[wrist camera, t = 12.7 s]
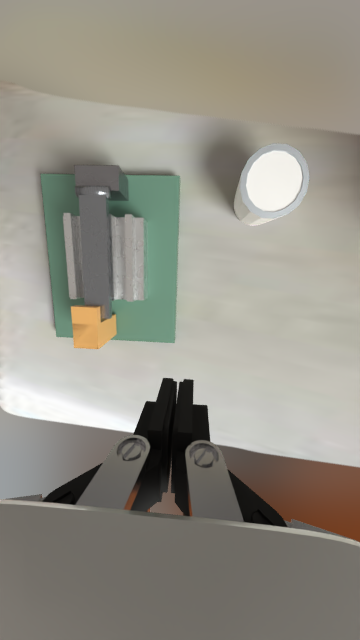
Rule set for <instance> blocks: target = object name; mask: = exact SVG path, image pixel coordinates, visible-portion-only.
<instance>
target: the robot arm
mask: <svg viewBox="0 0 360 640" xmlns="http://www.w3.org/2000/svg"><path fill="white" fill-rule="evenodd" d="M176 398H177V404H176ZM171 461H172V475H171V493H175V503H176V504H177V506H178V507H179V508H180V510H181V511H182V512H183V516H181V515H171V514H161V513H152V512H150V508H151V507H152V506H153V505H154V504H155V503H157V502H161V499H162V493H163V492H166V493H167V491H168V484H169V476H170V468H171ZM0 640H360V542H358V541H355V540H352V539H350V538H347V537H344V536H341V535H338V534H335V533H332V532H329V531H326V530H323V529H320V528H317V527H313V526H311V525H308V524H305V523H302V522H299V521H296V520H293V519H292V520H291V523H290V522H287V521H284V520H283V518H282V517H281V516H280V515H279V514H278V513H277V512H276V511H275V510H274V509H273V508H272V507H271V506H270V505H269V504H267V503H266V502H265V501H264V500H263V499H261V498H260V497H259V496H258V495H257V494H256V493H255V492H253V491H252V490H251V489H250V488H249V487H248V486H246V485H245V484H244V483H243V482H242V481H241V480H239V479H238V478H237V477H236V476H235V475H234V474H232V473H231V472H230V471H229V470H228V469H227V467H226V464H225V461H224V457H223V454H222V452H221V450H220V449H219V448H218V447H217V446H216V445H215V444H213V443H212V442H210V434H209V421H208V409H207V405H194V404H193V380H188V379H184V381H183V382H180V383H179V390H178V397H177V381H173V379H171V378H163V381H162V384H161V387H160V390H159V394H158V397H157V400H156V402H150V401H147V402H146V403H145V405H144V408H143V411H142V413H141V416H140V419H139V421H138V424H137V427H136V429H135V432H134V434H133V435H130V436H126V437H124V438H122V439H121V440H119V441H118V442H117V443H116V444H115V445H114V447H113V449H112V450H111V452H110V453H109V455H108V456H107V458H106V459H105V461H104V462H103V463H101V464H100V465H98V466H96V467H95V468H93V469H91V470H89V471H87V472H85V473H84V474H82V475H80V476H78V477H77V478H75V479H73V480H71V481H70V482H68V483H66V484H64V485H62V486H61V487H59V488H57V489H55V490H54V491H53V492H51V493H50V494H49V495H48V496H47V497H44V498H42V494H39V495H31V496H24V497H17V498H10V499H0Z"/></svg>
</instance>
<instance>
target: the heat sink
mask: <svg viewBox="0 0 360 640" xmlns="http://www.w3.org/2000/svg"><path fill="white" fill-rule="evenodd" d="M74 169H75V184H76V185H87V186H110V188H111V191H112V198H111V199H109V201H129V190H128V178H127V177H126V175H125V174H124V173H123V171H122V170H121V168H120V167H119V166H115V165H74ZM63 225H64V237H65V249H66V262H67V274H68V286H69V297H70V299H80V298H84V284H83V265H82V247H81V229H80V216H76V215H74V214H71V213H64V216H63ZM109 227H110V262H111V297H112V301H115V300H118V299H121V300H127V302H134V301H135V300H145V299H147V298H148V222H147V221H146V220H145V219H144V218H135V217H134V216H133V215H132V214H125V217H115V216H113V215H112V214H109Z"/></svg>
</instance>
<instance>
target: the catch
mask: <svg viewBox="0 0 360 640" xmlns="http://www.w3.org/2000/svg"><path fill="white" fill-rule="evenodd" d="M71 314H72V327H73V339H74V348H88V349H99V348H101V347H102V346H103V345H104V344H105V343H107V342H108V341H109V340H110V339H111V338H113V337H114V336H115V335H116V334H117V330H116V314H112V318H110V319H103V318H101V314H100V306H80V305H75V306H71Z"/></svg>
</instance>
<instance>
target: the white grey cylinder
mask: <svg viewBox="0 0 360 640" xmlns="http://www.w3.org/2000/svg"><path fill="white" fill-rule="evenodd" d="M309 178H310V177H309V171H308V165H307V162H306V160H305V159H304V157H303V156H302V154H301V153H300V151H298V150H297V149H295V148H293V147H291V146H290V145H288V144H277V143H273V144H270V145H268V146H265V147H263V148H260V149H259V150H258V151H257V152H256V153H255V154H253V155H252V156H251V157H250V158H249V159H248V161H247V163H246V165H245V167H244V169H243V171H242V173H241V176H240V180H239V184H238V187H237V191H236V194H235V198H234V210H235V214H236V216H237V217H238V219H239V220H240V221H241V222H243V223H244V224H246V225H251V226H257V225H260V224H263V223H266V222H268V221H271V220H274V219H277V218H279V217H282V216H285V215H287V214H289V213H290V212H291V211H292V210H294V209H295V208H296V207H297V206H298V205H299V204H300V202H301V201H302V199H303V197H304V196H305V194H306V192H307V188H308V183H309Z"/></svg>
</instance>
